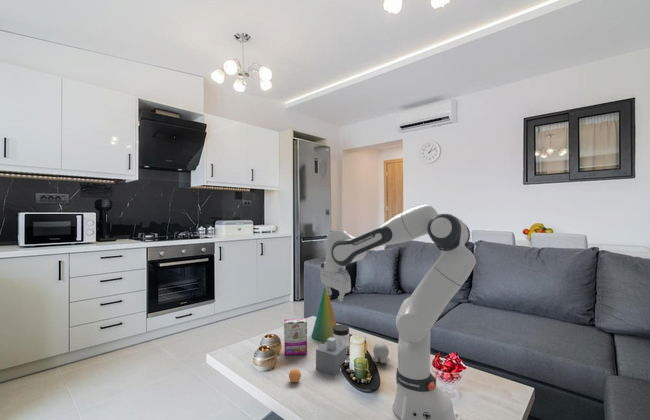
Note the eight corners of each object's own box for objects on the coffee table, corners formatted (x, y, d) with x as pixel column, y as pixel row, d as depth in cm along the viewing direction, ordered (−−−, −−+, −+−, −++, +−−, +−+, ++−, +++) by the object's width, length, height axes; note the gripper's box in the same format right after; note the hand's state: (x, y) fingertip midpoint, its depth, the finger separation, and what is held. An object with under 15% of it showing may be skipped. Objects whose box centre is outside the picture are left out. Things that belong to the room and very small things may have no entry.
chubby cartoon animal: (391, 363, 147) (393, 344, 150) (385, 364, 137) (387, 344, 140) (376, 360, 150) (378, 341, 153) (370, 361, 140) (372, 341, 143)
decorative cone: (324, 345, 160) (324, 288, 160) (305, 335, 172) (305, 282, 172) (345, 336, 171) (346, 283, 171) (326, 328, 183) (326, 278, 183)
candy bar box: (306, 350, 155) (306, 318, 155) (307, 354, 150) (307, 321, 150) (284, 351, 153) (284, 318, 153) (284, 356, 148) (284, 322, 148)
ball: (303, 380, 128) (303, 368, 128) (295, 386, 123) (296, 374, 123) (293, 377, 130) (293, 365, 130) (286, 382, 126) (286, 370, 126)
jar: (338, 356, 148) (338, 332, 148) (329, 350, 155) (329, 326, 155) (352, 352, 153) (353, 328, 153) (343, 345, 160) (343, 323, 160)
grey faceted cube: (346, 365, 140) (346, 337, 140) (335, 375, 131) (335, 346, 131) (327, 359, 145) (327, 332, 145) (315, 369, 137) (316, 340, 137)
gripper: (355, 270, 126) (354, 303, 126) (330, 261, 144) (329, 291, 144) (342, 271, 123) (341, 305, 123) (318, 262, 141) (317, 292, 141)
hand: (334, 297), depth 134 cm, fingers open, 8 cm apart
